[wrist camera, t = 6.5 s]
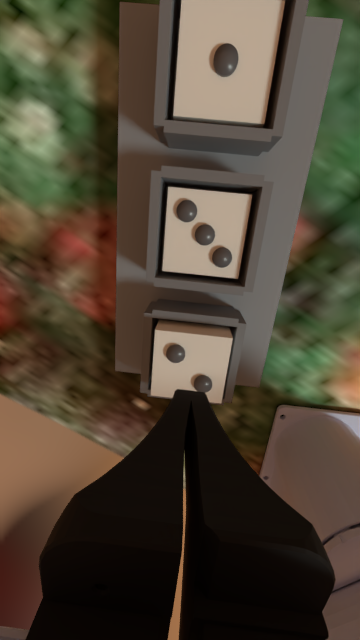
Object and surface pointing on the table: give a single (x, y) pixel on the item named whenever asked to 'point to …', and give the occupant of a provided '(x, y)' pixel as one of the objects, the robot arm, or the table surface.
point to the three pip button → (205, 232)
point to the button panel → (210, 186)
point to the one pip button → (226, 60)
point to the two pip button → (190, 359)
